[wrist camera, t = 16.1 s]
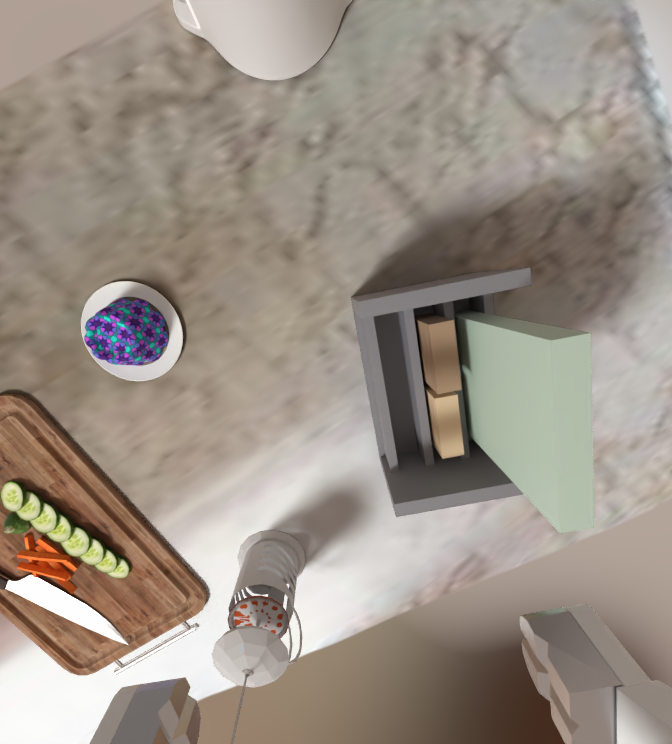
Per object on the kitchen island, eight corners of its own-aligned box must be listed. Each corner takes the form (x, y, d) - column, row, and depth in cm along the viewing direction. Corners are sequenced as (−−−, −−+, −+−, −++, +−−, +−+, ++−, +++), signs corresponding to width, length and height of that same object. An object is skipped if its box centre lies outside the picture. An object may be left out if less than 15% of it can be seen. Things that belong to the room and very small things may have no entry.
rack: (350, 297, 42) (358, 301, 30) (476, 272, 41) (530, 267, 30) (380, 461, 47) (396, 516, 36) (491, 441, 46) (542, 490, 35)
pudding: (198, 306, 42) (180, 309, 37) (168, 393, 44) (147, 407, 39) (99, 264, 41) (66, 261, 35) (74, 357, 43) (40, 366, 38)
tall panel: (445, 313, 41) (550, 340, 21) (466, 309, 41) (590, 332, 21) (458, 423, 44) (560, 533, 25) (477, 420, 44) (594, 527, 25)
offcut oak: (419, 381, 43) (434, 398, 36) (438, 378, 43) (457, 394, 36) (426, 434, 44) (442, 458, 38) (445, 430, 44) (464, 454, 38)
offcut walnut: (410, 317, 41) (428, 324, 33) (430, 313, 41) (454, 319, 33) (418, 374, 42) (437, 394, 35) (437, 370, 42) (461, 389, 35)
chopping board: (227, 607, 53) (221, 627, 50) (95, 682, 56) (82, 705, 53) (6, 367, 44) (-18, 373, 41) (-138, 474, 47) (-170, 487, 44)
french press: (274, 517, 49) (219, 748, 24) (327, 570, 51) (324, 829, 27) (223, 555, 50) (122, 809, 26) (277, 605, 52) (230, 881, 28)
